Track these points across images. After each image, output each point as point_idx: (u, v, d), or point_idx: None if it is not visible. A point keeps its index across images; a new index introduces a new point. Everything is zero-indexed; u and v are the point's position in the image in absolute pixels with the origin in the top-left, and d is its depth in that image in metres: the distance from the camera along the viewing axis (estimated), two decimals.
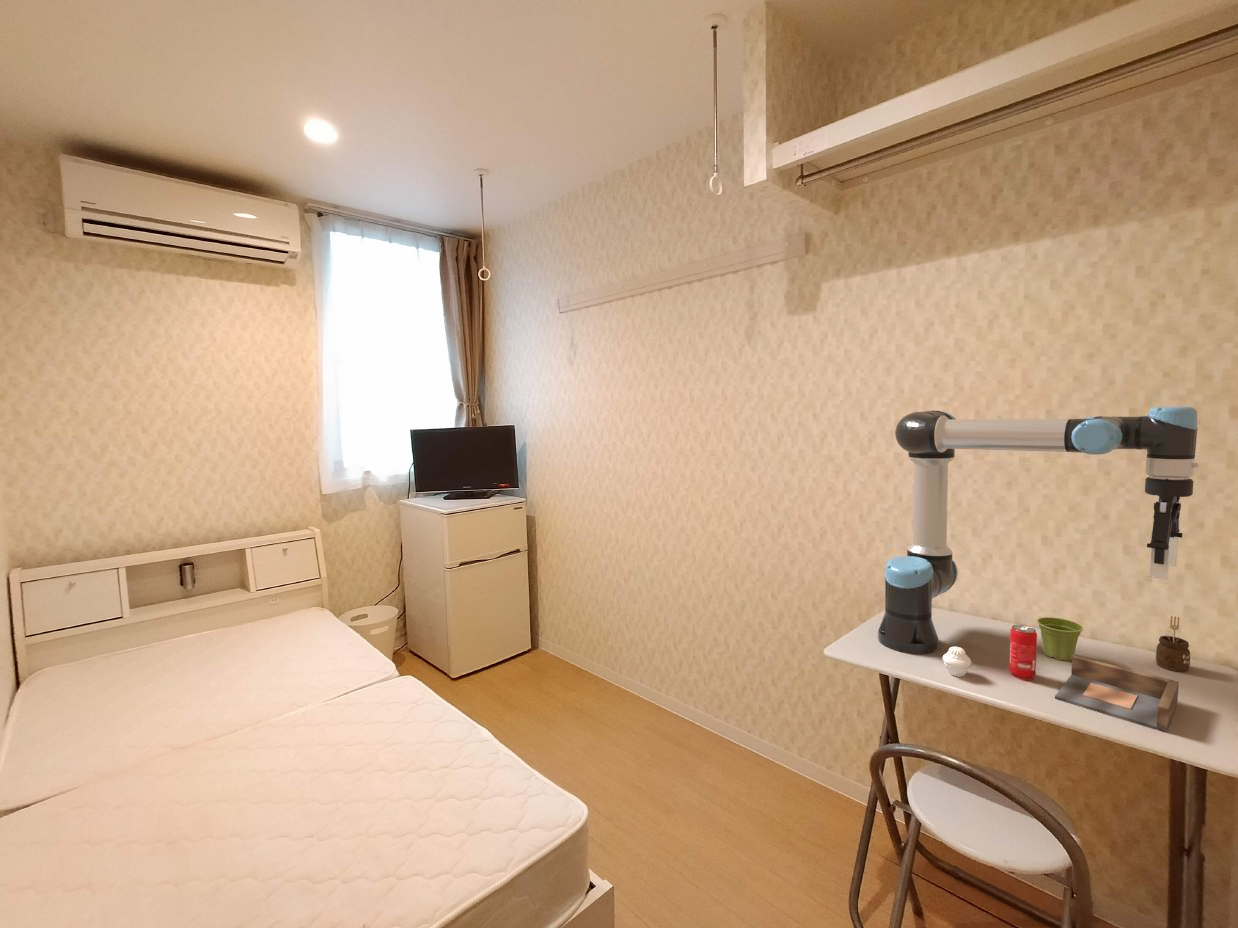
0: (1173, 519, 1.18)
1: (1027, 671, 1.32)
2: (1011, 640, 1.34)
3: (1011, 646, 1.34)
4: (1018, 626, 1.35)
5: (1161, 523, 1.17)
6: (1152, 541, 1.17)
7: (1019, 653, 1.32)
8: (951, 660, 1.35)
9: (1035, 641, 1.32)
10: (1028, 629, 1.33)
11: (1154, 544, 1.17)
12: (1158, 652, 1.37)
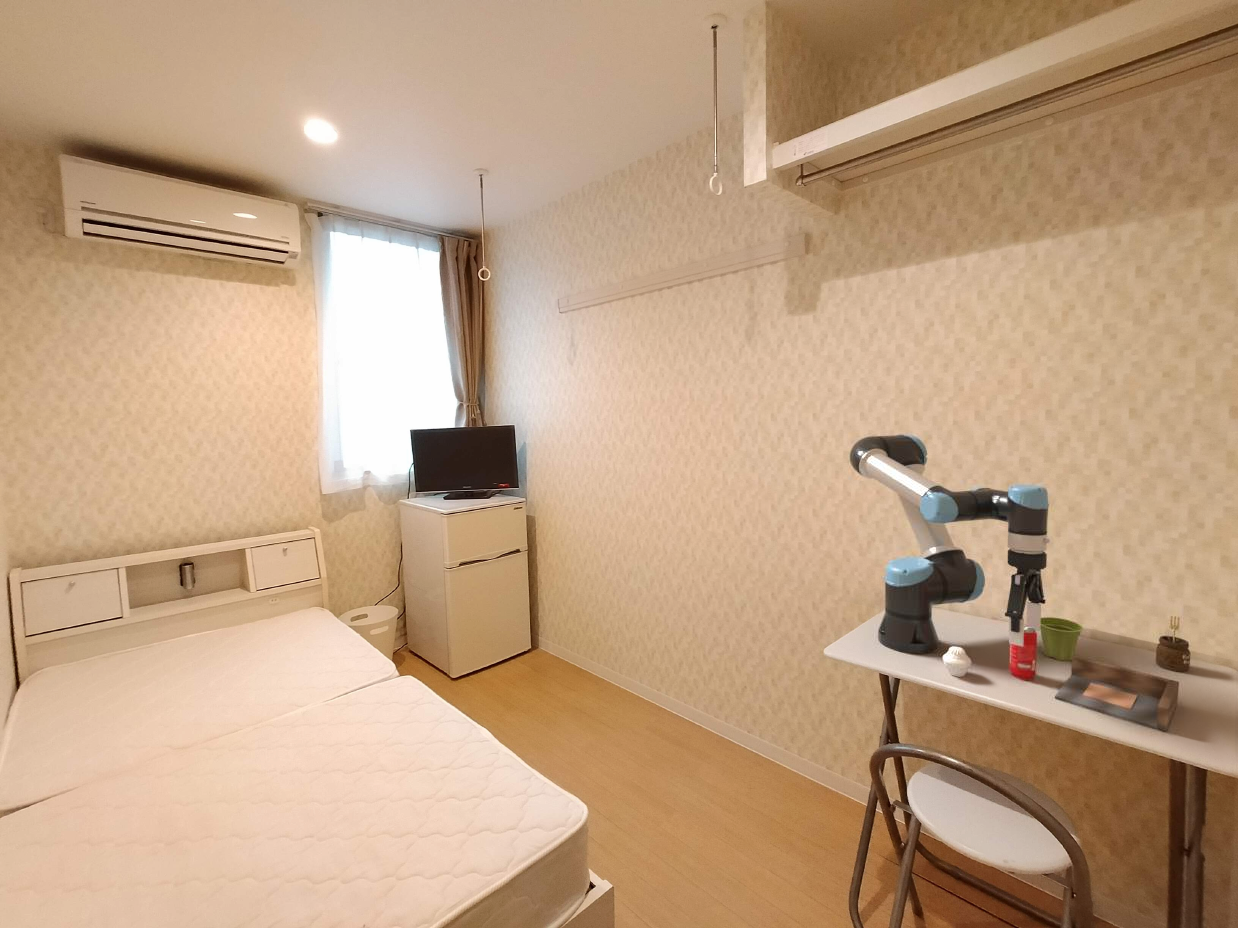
0: (1028, 590, 1.29)
1: (1027, 671, 1.32)
2: None
3: (1011, 646, 1.34)
4: None
5: (1015, 594, 1.27)
6: (1007, 611, 1.27)
7: (1019, 653, 1.32)
8: (951, 660, 1.35)
9: (1035, 641, 1.32)
10: (1028, 629, 1.33)
11: (1009, 614, 1.27)
12: (1158, 652, 1.37)
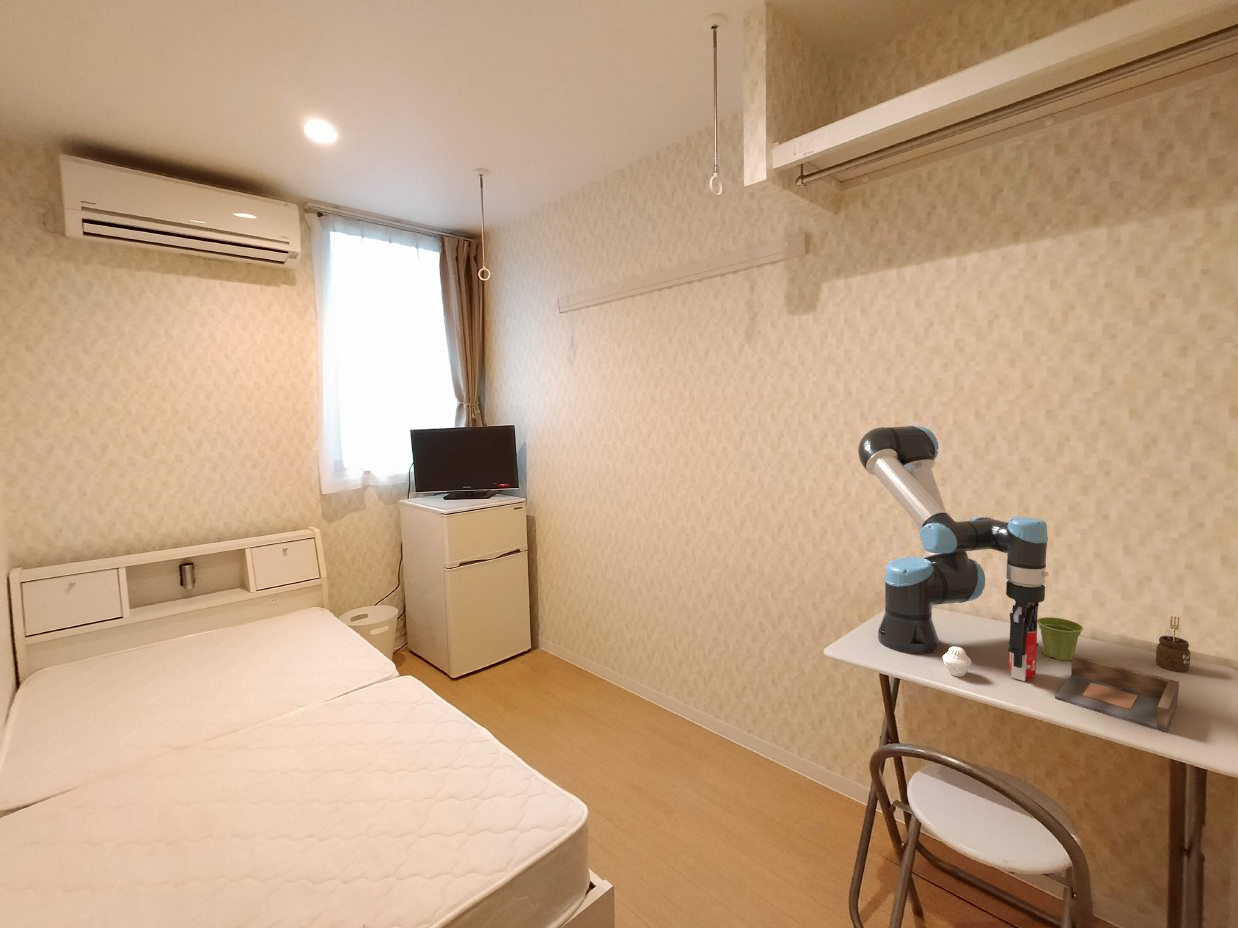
0: (1027, 625, 1.31)
1: (1027, 671, 1.32)
2: None
3: None
4: None
5: (1016, 633, 1.30)
6: (1010, 648, 1.31)
7: None
8: (951, 660, 1.35)
9: (1035, 641, 1.32)
10: (1028, 629, 1.33)
11: (1012, 651, 1.31)
12: (1158, 652, 1.37)
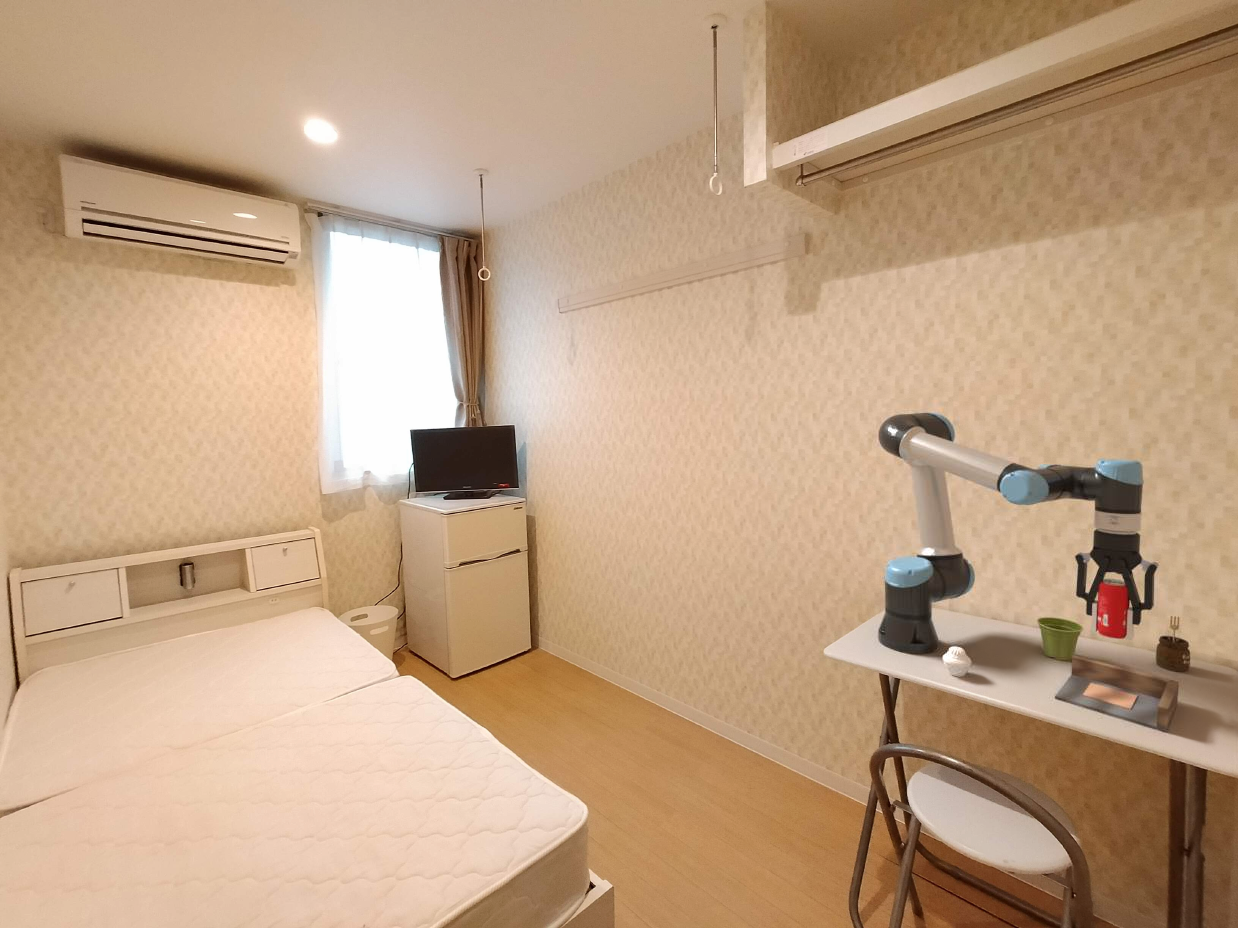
0: None
1: (1098, 624, 1.22)
2: None
3: None
4: (1119, 581, 1.21)
5: None
6: None
7: None
8: (951, 660, 1.35)
9: (1108, 594, 1.20)
10: None
11: None
12: (1158, 652, 1.37)
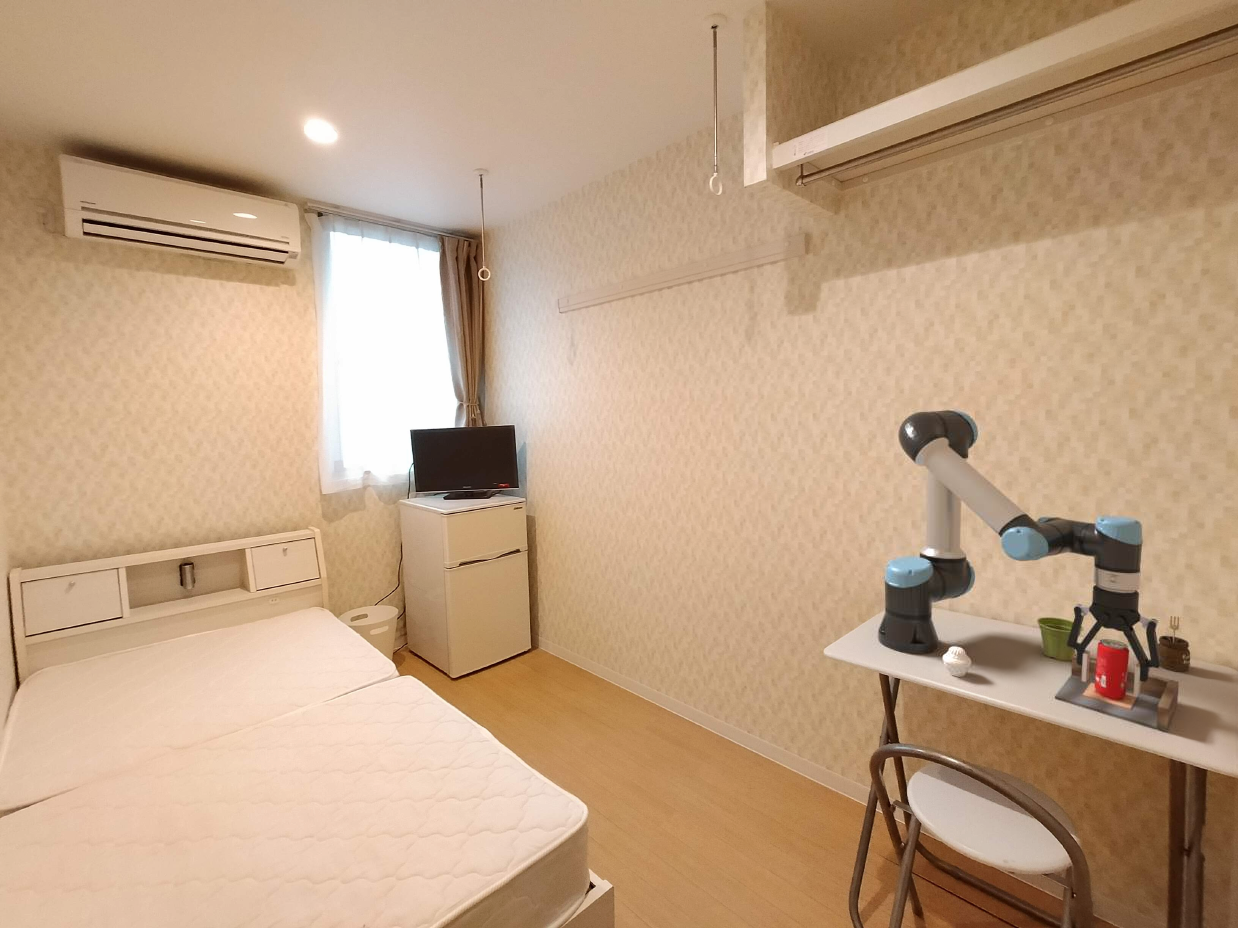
0: (1093, 626, 1.23)
1: (1096, 683, 1.24)
2: None
3: None
4: (1118, 643, 1.22)
5: None
6: None
7: (1096, 662, 1.25)
8: (951, 660, 1.35)
9: (1107, 656, 1.21)
10: (1115, 645, 1.21)
11: None
12: None
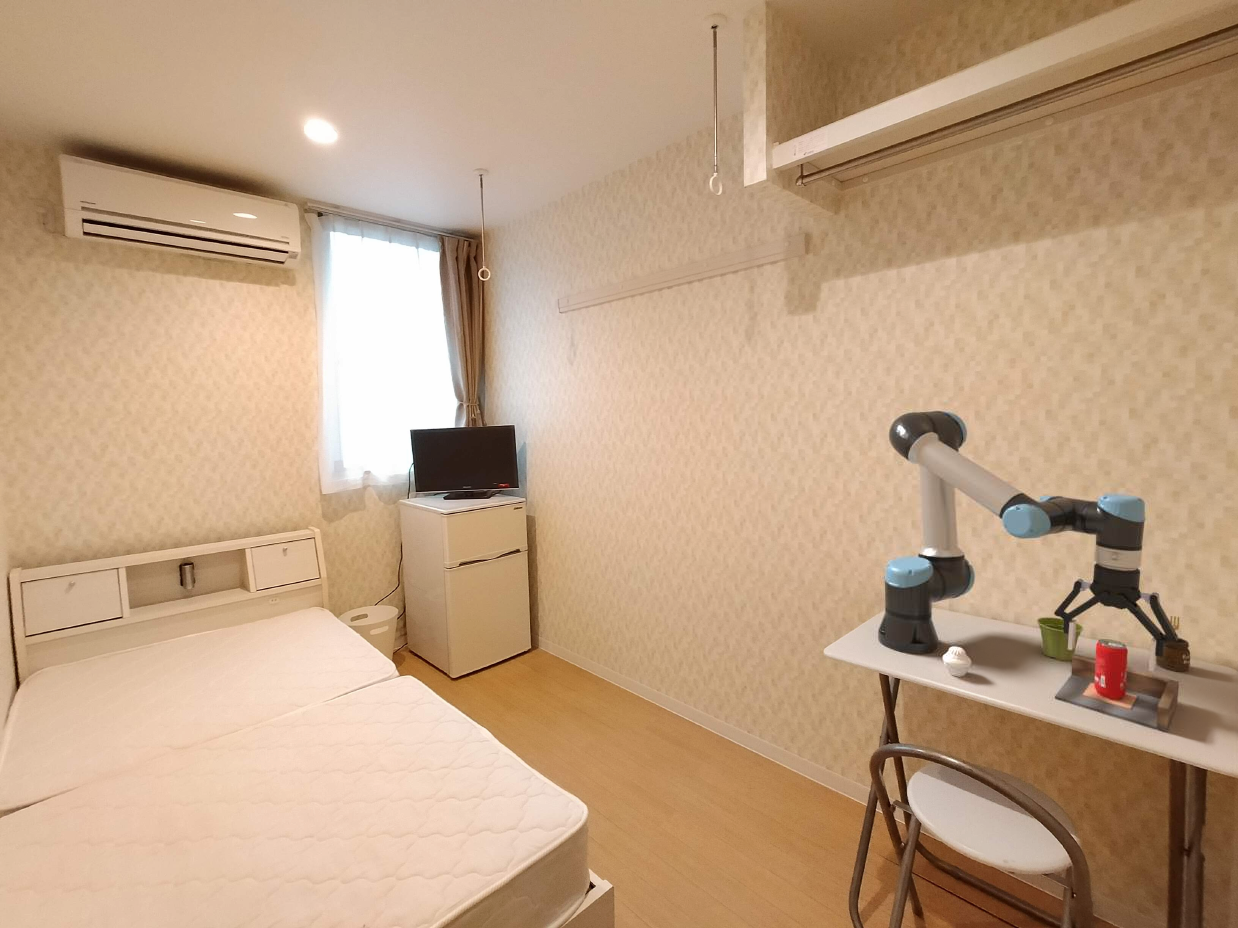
0: (1089, 600, 1.23)
1: (1096, 684, 1.24)
2: None
3: None
4: (1116, 642, 1.22)
5: None
6: None
7: None
8: (951, 660, 1.35)
9: (1106, 656, 1.21)
10: (1113, 645, 1.21)
11: None
12: None
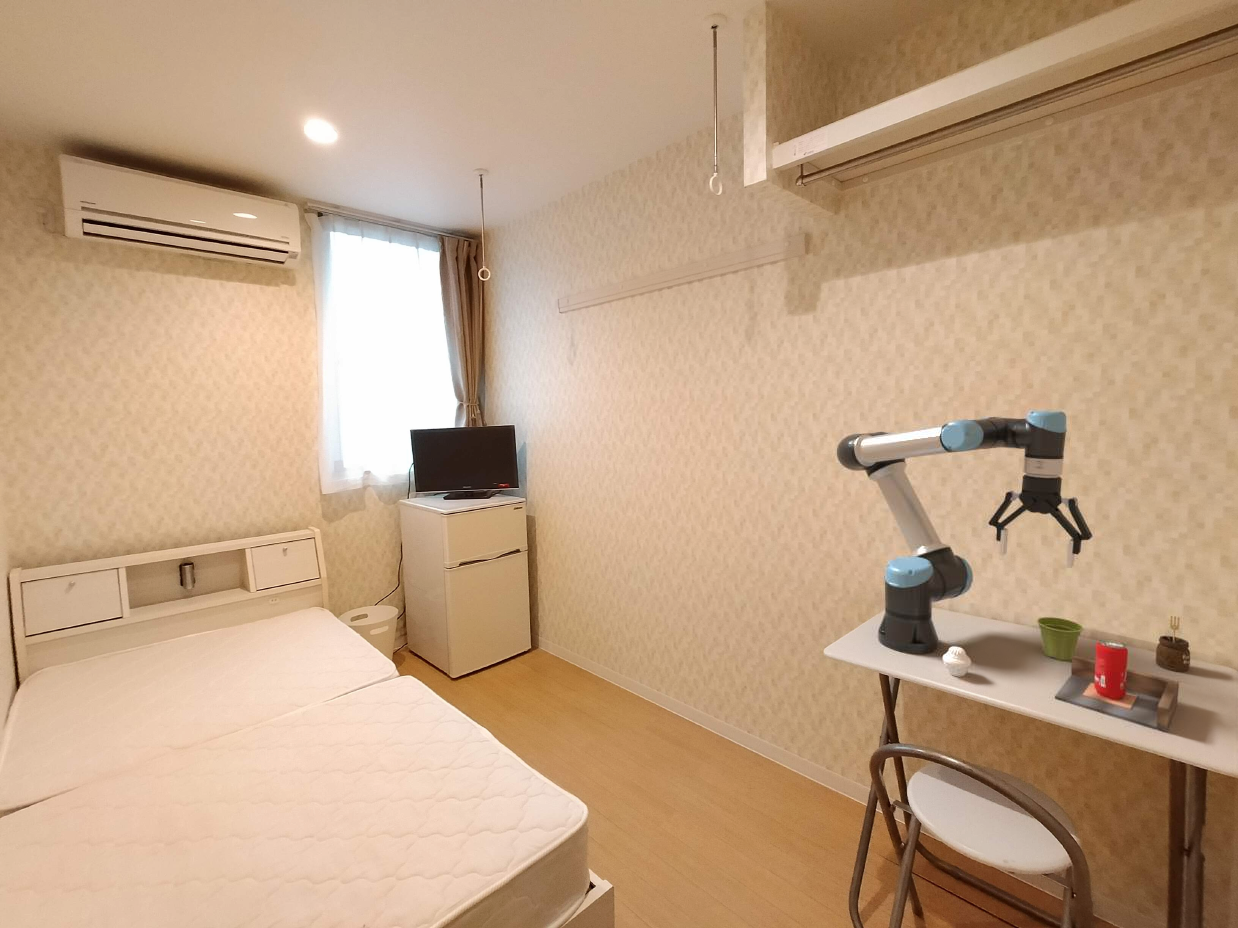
0: None
1: (1096, 684, 1.24)
2: None
3: None
4: (1117, 642, 1.22)
5: None
6: None
7: None
8: (951, 660, 1.35)
9: (1106, 656, 1.21)
10: (1113, 645, 1.21)
11: None
12: (1158, 652, 1.37)
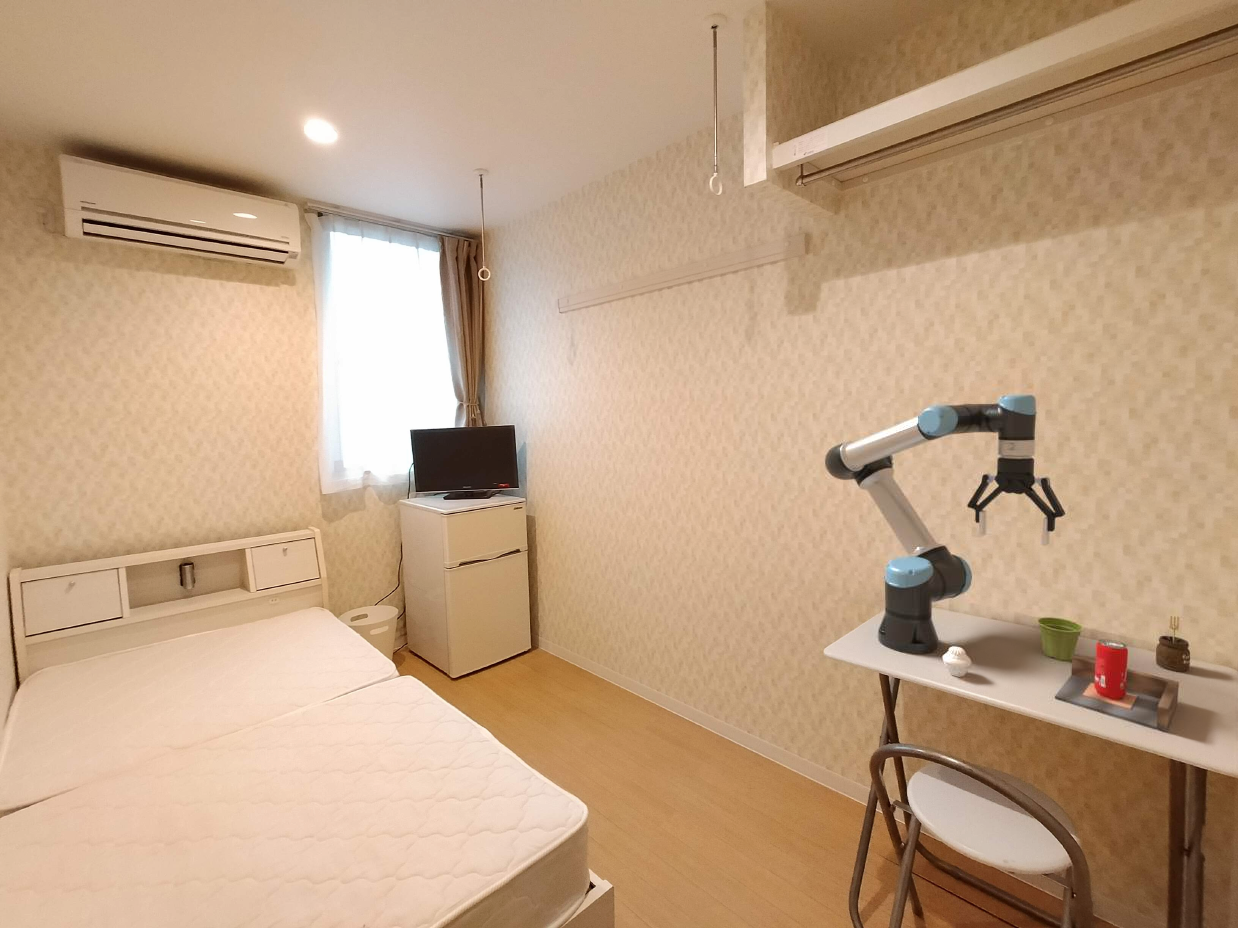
0: None
1: (1096, 684, 1.24)
2: None
3: None
4: (1117, 642, 1.22)
5: None
6: None
7: None
8: (951, 660, 1.35)
9: (1106, 656, 1.21)
10: (1113, 645, 1.21)
11: None
12: (1158, 652, 1.37)
